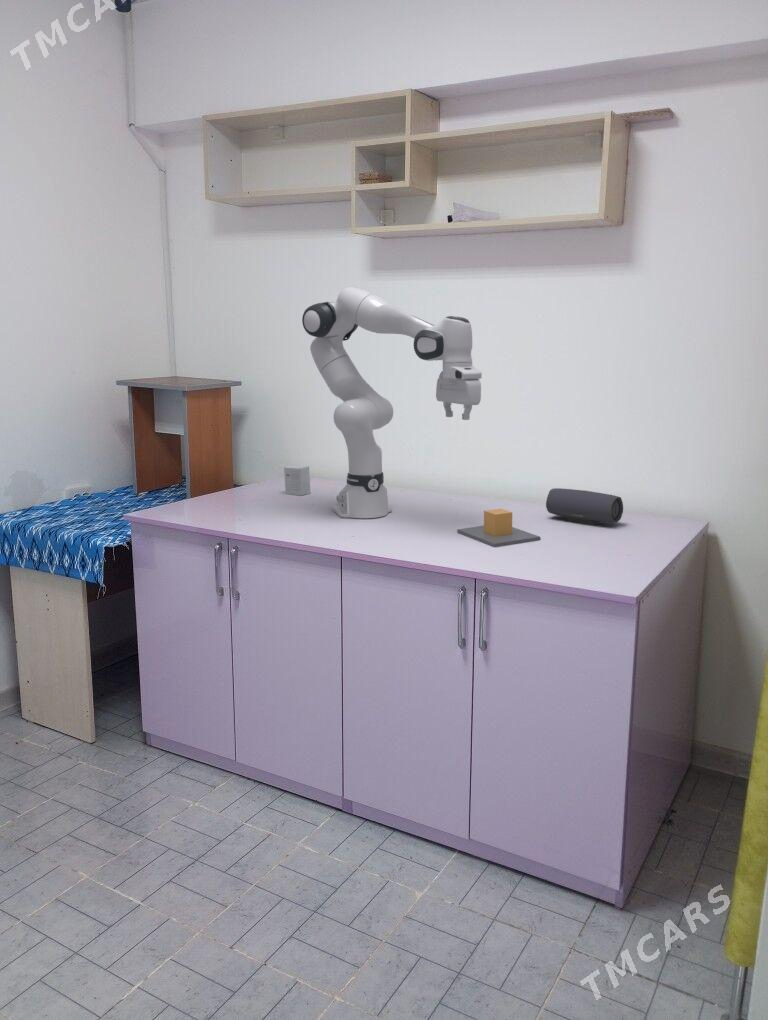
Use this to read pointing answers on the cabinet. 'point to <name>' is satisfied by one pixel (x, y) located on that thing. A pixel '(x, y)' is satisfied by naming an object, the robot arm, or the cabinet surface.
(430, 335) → the robot arm
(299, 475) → the small box
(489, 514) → the wooden cube
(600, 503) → the bluetooth speaker
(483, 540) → the plate
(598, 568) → the cabinet surface
